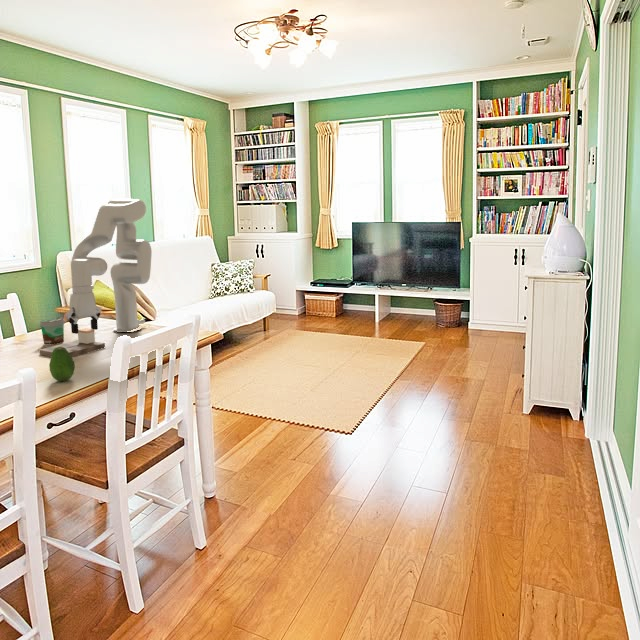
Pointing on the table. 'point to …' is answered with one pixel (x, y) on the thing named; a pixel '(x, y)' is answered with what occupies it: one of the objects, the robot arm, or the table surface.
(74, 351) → the panel
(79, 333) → the beige small block
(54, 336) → the food container
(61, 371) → the avocado
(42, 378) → the table surface
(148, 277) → the robot arm
